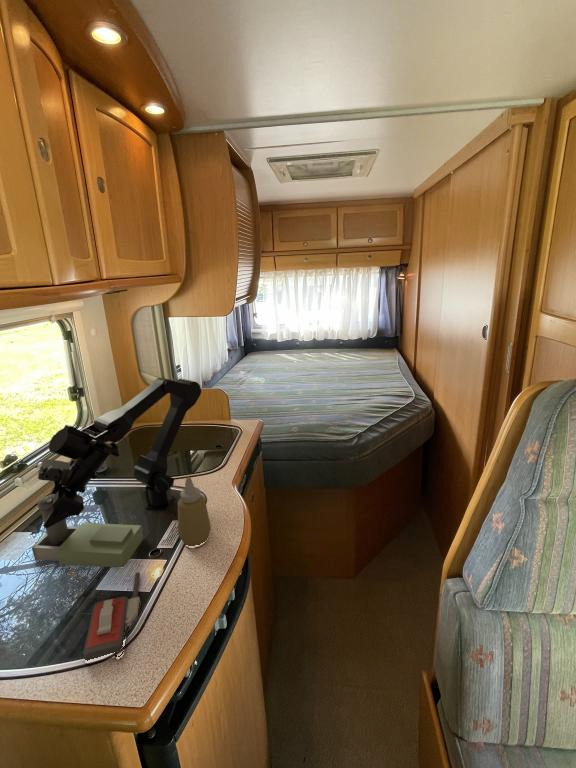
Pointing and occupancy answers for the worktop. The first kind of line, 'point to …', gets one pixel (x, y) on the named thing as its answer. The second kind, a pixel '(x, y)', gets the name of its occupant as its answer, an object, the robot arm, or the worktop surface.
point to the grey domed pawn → (57, 531)
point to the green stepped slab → (93, 545)
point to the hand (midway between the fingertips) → (45, 516)
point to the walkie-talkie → (111, 624)
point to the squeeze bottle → (192, 516)
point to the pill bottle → (102, 467)
